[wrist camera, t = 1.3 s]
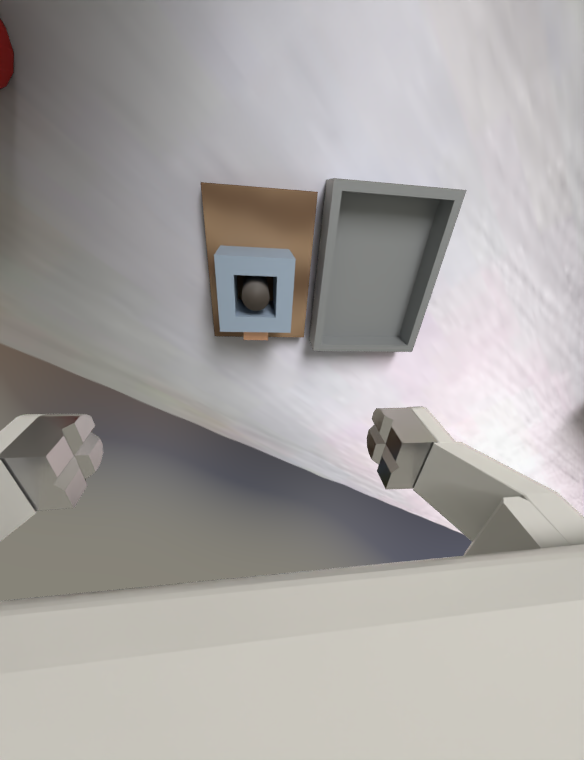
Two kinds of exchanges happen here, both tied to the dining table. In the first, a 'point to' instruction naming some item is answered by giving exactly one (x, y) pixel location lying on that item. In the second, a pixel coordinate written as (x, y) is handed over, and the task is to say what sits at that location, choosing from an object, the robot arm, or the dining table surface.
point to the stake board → (261, 241)
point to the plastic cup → (5, 57)
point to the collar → (254, 264)
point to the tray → (378, 263)
